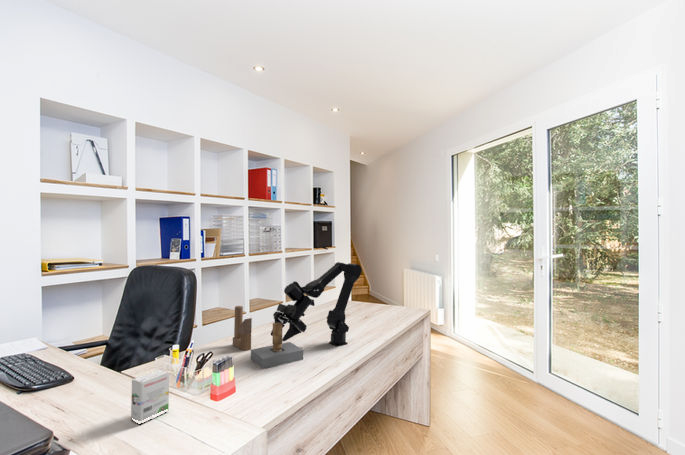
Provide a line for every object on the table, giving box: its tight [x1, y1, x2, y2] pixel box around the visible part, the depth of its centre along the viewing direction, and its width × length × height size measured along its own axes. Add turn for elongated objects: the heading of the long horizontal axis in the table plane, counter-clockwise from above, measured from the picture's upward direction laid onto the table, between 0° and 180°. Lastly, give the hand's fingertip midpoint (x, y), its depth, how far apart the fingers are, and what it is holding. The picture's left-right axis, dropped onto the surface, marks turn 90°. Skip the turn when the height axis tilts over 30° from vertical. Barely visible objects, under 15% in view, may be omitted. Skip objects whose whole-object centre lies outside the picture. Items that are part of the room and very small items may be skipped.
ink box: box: [130, 369, 170, 421], centre depth 99 cm, size 8×5×12 cm, turn 150°
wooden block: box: [232, 305, 253, 352], centre depth 157 cm, size 4×11×18 cm, turn 45°
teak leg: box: [272, 322, 283, 353], centre depth 144 cm, size 4×4×14 cm
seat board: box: [250, 341, 304, 370], centre depth 144 cm, size 18×12×4 cm, turn 126°
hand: (277, 338), depth 144 cm, fingers open, 9 cm apart
